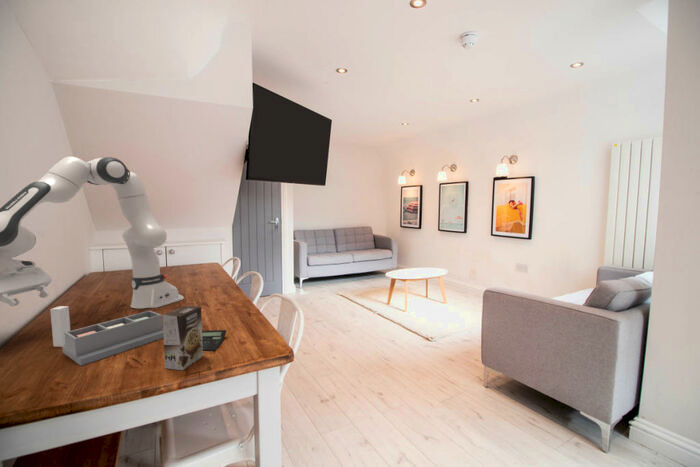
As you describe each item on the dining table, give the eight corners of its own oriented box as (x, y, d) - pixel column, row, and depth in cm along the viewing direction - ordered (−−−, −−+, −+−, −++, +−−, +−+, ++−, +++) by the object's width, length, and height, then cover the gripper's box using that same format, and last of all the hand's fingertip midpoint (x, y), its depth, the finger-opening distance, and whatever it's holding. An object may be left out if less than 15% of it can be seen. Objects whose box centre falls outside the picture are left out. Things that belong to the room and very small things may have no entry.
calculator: (185, 353, 101) (185, 344, 101) (199, 338, 112) (199, 330, 112) (215, 352, 102) (214, 343, 101) (226, 337, 113) (226, 329, 113)
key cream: (122, 328, 110) (121, 323, 110) (128, 331, 108) (127, 325, 107) (106, 333, 106) (106, 327, 106) (112, 336, 104) (111, 330, 104)
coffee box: (183, 370, 89) (180, 316, 88) (164, 368, 91) (161, 314, 89) (204, 356, 98) (202, 306, 97) (186, 354, 100) (184, 305, 98)
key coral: (94, 336, 103) (93, 330, 103) (99, 339, 101) (99, 333, 101) (76, 341, 100) (76, 335, 99) (82, 345, 97) (81, 338, 97)
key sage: (146, 321, 117) (146, 316, 117) (152, 324, 114) (152, 318, 114) (133, 325, 113) (132, 320, 113) (139, 328, 110) (138, 322, 110)
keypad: (146, 327, 122) (145, 308, 121) (167, 336, 113) (166, 316, 113) (62, 352, 101) (60, 330, 101) (80, 365, 92) (78, 341, 92)
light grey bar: (62, 342, 109) (59, 306, 108) (71, 342, 109) (68, 306, 108) (53, 346, 106) (50, 309, 105) (62, 346, 106) (59, 309, 104)
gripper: (-32, 271, 96) (1, 303, 96) (38, 260, 116) (65, 286, 116) (-44, 285, 96) (-11, 317, 96) (28, 272, 117) (55, 298, 117)
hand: (31, 300), depth 106 cm, fingers open, 8 cm apart
